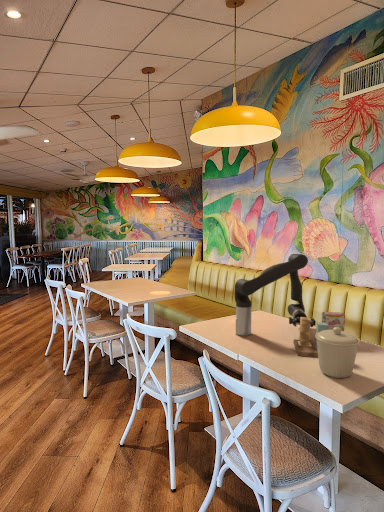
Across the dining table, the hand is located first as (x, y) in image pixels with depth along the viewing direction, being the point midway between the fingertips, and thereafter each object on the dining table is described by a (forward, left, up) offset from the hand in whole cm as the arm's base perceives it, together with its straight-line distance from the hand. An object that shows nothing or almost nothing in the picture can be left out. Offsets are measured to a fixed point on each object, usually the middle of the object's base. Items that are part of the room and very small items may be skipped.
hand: (303, 325), depth 181 cm
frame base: (+3, -7, -11) cm, 13 cm away
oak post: (0, -4, -9) cm, 10 cm away
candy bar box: (+17, +8, -11) cm, 22 cm away
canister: (+9, -33, -11) cm, 36 cm away
